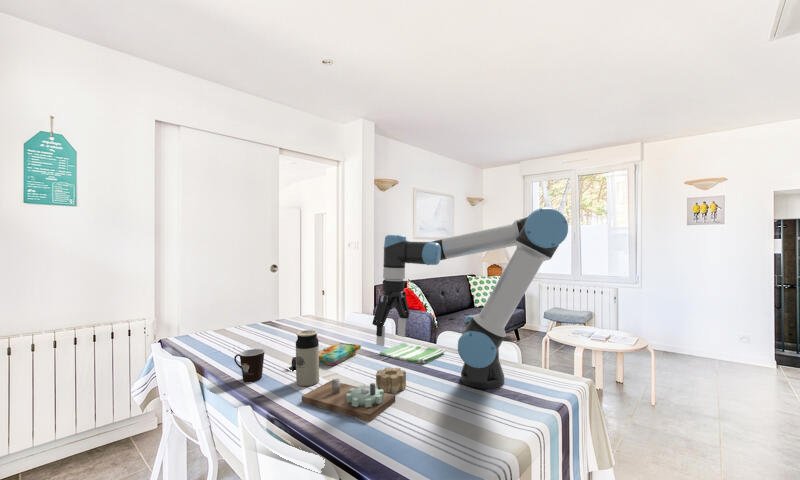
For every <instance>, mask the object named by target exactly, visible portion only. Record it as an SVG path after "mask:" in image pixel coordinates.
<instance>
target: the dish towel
mask: <svg viewBox="0 0 800 480" xmlns="http://www.w3.org/2000/svg"><path fill="white" fill-rule="evenodd" d="M379 355H380V356H384V357H389V358H392V359H395V360H400V361H405V362H409V363H416V364H423V365H424V364H427V363H430V362H432V361H434V360H436V359H438V358H440V357H443V356H445V350H444V349H442V348H438V347H437V348H436V347H430V346H429V347H428V346H419V345H417V346H416V345H415V346H414V345H410V344H408V343H406V342H401V343H400V344H398V345H395V346H392V347H389V348H386V349H384V350H381V351H380V352H379Z"/></svg>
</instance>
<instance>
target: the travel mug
mask: <svg viewBox="0 0 800 480" xmlns="http://www.w3.org/2000/svg"><path fill="white" fill-rule="evenodd" d="M318 333H319V332H318V331H317V330H316V329H304V330H300V331H297V332H296V334H295V335H296V336H297V338H296V341H295V357H296V371H295V376H296V377H295V378H296V379H295V380H296V385H298V386H301V387H309V386H315V385H316V384H318V383H319V381H320V364H319V351H320V350H319V349H320V347H319V346H320V345H319V338H318V337H317V336H318Z"/></svg>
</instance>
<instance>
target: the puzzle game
mask: <svg viewBox="0 0 800 480" xmlns="http://www.w3.org/2000/svg"><path fill="white" fill-rule="evenodd" d="M361 348H362V346H361V344H354V343H349V342H338V343H335V344H332V345H330V346H328V347H325V348H323V349H321V350H319V365H324V366H325V365H326V366H331V367H335V366H336V365H339V364H340V363H342V362H344V361H346V360H347V359H349V358H352V357H353V356H354V355H355V354H356V353H357V351H359V350H361Z"/></svg>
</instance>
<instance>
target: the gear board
mask: <svg viewBox="0 0 800 480" xmlns="http://www.w3.org/2000/svg"><path fill="white" fill-rule="evenodd" d="M351 388H355V389H356V388H359V386H357V385H352V384H347V383H342V382H341V381H340V379H339V378H333V379H332V380H330V381H328V382H326V383H324V384H322V385H320V386H319V387H317V388H314V389H312V390H311V391H309V392H306V393H305V394H303V395H301V403H303V404H306V405H309V406H312V407H316V408H319V409H324V410H327V411H331V412H334V413H338V414H342V415H344V416H349V417H352V418H356V419H359V420H363V421H366V422H370V423H371V422H372V421H373V420H374V419H375V418H377V417H378V416H379V415H381V414H383V412H384V411H387V409H388V408H389V407H391V406H392V405H393V404H395V403H396V395H394V394H392V393H391V394H390V393H388V392H387V393H384V398H382V402H381V403H380V404H377V403H375V404H372V407H365V406H360V405H359V406H358V407H354V406H352V402H349V403H347V399H346V394H347V393H349V390H350V389H351Z"/></svg>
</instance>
